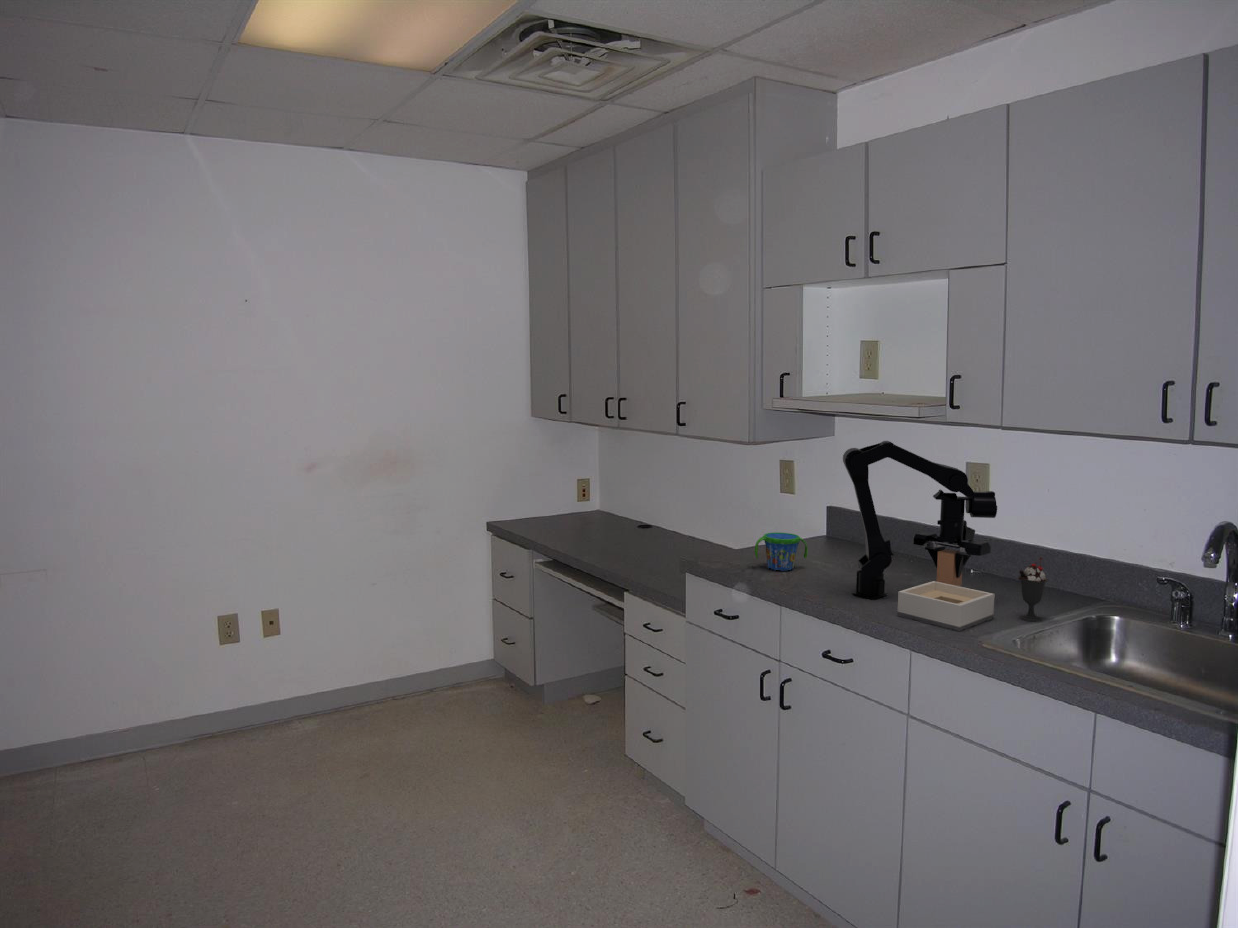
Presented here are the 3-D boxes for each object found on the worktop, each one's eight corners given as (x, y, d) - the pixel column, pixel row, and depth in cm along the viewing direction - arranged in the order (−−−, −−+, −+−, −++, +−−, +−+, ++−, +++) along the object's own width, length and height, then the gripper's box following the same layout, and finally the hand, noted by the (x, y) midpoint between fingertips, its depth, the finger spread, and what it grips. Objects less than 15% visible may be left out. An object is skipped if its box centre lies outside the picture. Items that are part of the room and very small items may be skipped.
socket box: (897, 615, 211) (898, 591, 210) (932, 604, 221) (933, 581, 221) (959, 631, 199) (960, 605, 198) (993, 618, 209) (994, 594, 208)
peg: (936, 585, 226) (937, 551, 225) (945, 582, 229) (946, 549, 228) (952, 588, 222) (954, 554, 221) (961, 585, 225) (963, 551, 224)
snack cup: (804, 565, 263) (805, 532, 262) (809, 573, 252) (810, 539, 251) (752, 564, 264) (753, 531, 263) (755, 572, 254) (756, 538, 252)
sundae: (1049, 618, 209) (1053, 557, 207) (1041, 624, 204) (1044, 562, 202) (1020, 613, 213) (1024, 553, 212) (1011, 619, 208) (1015, 558, 207)
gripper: (1002, 518, 222) (999, 577, 223) (935, 508, 236) (932, 564, 238) (980, 523, 214) (977, 584, 216) (913, 513, 229) (910, 571, 230)
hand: (949, 575), depth 225 cm, fingers closed on peg, 4 cm apart
